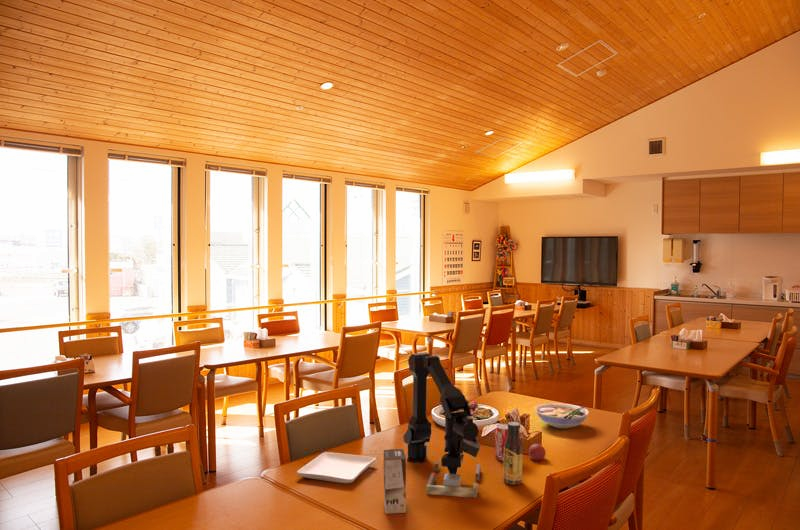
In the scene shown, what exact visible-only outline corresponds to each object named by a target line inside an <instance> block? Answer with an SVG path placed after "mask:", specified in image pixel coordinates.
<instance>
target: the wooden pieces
mask: <svg viewBox="0 0 800 530" xmlns="http://www.w3.org/2000/svg"><path fill="white" fill-rule="evenodd" d="M475 468H476V469H475V475H474V476H475V478H474V479H475V482H473V487H464V486H461V487H453V486H443V485H435V482H436V473H435V472H439V470H440V461H439V460H437V461H435V462H434V472H431V473H430V475H429V477H428V481H427V484H426V495H437V496H447V497H449V496H450V497H461V498H463V497H464V498H474V499H476V498H477V497H478V492H479V491H478V490H479V488H478V487H479V485H478V483H477V482H479V481H480V478H481V477H480V476H481V463H477V464H476V467H475Z"/></svg>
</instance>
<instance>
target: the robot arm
mask: <svg viewBox="0 0 800 530" xmlns="http://www.w3.org/2000/svg"><path fill="white" fill-rule="evenodd" d="M407 363H408V369H409V372H410V373H411V375H412V377H413V379H412V380H413V381H412V382H413V383H412V385H413V386H412V391H413V392H412V416H411V417H410V420H409V421H408V422H407V423H408V425H407V430H406V431H405V433H404V434H403V436H402V439H403V442H404V443H405V444H406V445H407V457H406V462H421V463H424V462H425V461H426V459H427V457H428V445H426V443H430V440H431V435H432V423H431V422H430V421H429V419H428V417H427V393H428V392H427V386H428V385H427V384H428V383H427V382H428V377H429V375H430V376H431V378H432V380H433V382H434V384H435V385H436V388H437V390H438V392H439V393H440V396H439V397H440V398H439V402H440V404H441V405H442V408H443V410H444V412H443V413H442V415H444V416H445V427H444V438H443V439H444V453H445V454H444V455H442V456H441V461H440V465H441V467H445V468H446V469H447V470H448V474H457V473H458V469H459V468H461V467H462V465H463V464H462V463H463V461H464V454H465V453H466V454H468V455H470V456H472V457H473V458H477V456H478V453H479V451H480V448H481V444H480V442H478V435H479V430H478V427H477V425H476V424H475V423H473V419H472V418H469V417H467V416H471V412H470V411H471V410H470V408H469V406H468V404H467V401H466V399H467V398H466V397H465V395H464V394H463V392H462V391H461V389H460V388H458V387H456V386H455V385H454V384H453V383H452V382H451V380H450V378H449V377H450V376H448V374H447V372H446V369H445V368H444V367H443V365H442V363H441V359H440V357H439V356H438V355H430V353H428V352H420V353H419V352H418V353H411V354H410V356H408V361H407ZM462 410H464V411H462ZM455 411H461V412H455Z"/></svg>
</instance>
